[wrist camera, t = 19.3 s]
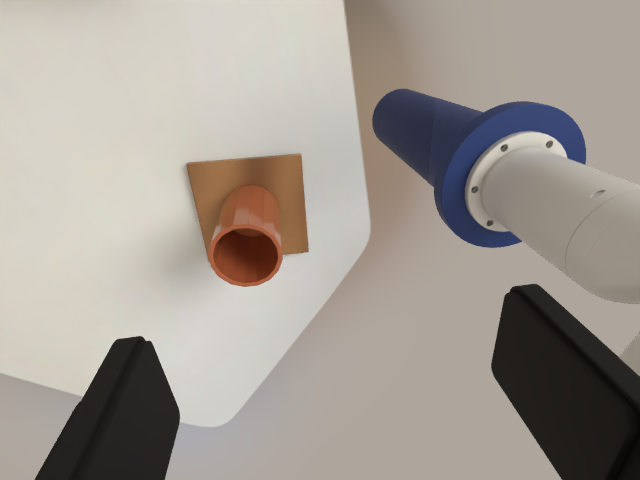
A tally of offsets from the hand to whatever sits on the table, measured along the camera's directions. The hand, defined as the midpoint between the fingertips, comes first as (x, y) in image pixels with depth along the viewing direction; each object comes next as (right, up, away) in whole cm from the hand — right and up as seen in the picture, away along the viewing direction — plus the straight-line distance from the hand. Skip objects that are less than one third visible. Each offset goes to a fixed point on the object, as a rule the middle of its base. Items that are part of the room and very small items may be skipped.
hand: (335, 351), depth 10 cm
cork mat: (-8, +6, +32) cm, 34 cm away
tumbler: (-8, +6, +31) cm, 33 cm away
